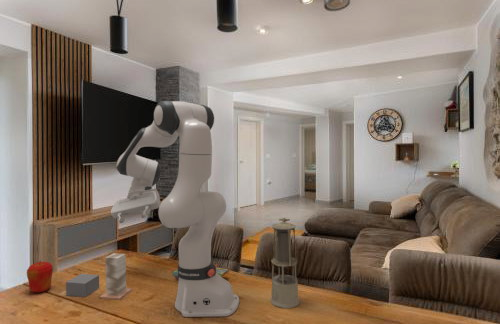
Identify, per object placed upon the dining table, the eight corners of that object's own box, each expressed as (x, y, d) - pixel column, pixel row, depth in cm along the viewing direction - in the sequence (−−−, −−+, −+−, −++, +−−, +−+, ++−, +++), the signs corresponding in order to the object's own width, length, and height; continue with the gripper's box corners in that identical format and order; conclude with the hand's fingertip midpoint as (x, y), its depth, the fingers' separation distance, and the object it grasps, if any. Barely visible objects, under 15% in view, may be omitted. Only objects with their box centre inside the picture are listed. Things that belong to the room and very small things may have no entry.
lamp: (269, 307, 108) (268, 220, 107) (272, 290, 121) (272, 213, 120) (299, 309, 106) (299, 221, 105) (299, 292, 119) (299, 213, 118)
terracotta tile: (131, 290, 122) (131, 288, 122) (119, 299, 114) (119, 298, 114) (113, 288, 123) (113, 287, 123) (99, 298, 116) (99, 296, 116)
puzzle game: (189, 260, 142) (228, 267, 133) (189, 271, 142) (228, 278, 133) (172, 269, 131) (214, 277, 123) (172, 281, 131) (214, 289, 123)
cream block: (126, 290, 121) (125, 253, 120) (118, 295, 116) (117, 258, 115) (114, 289, 122) (113, 253, 121) (106, 294, 117) (105, 257, 116)
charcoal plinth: (99, 287, 125) (99, 275, 124) (85, 296, 117) (85, 283, 116) (81, 286, 126) (80, 273, 126) (66, 295, 118) (65, 282, 118)
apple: (23, 291, 122) (22, 261, 121) (48, 284, 128) (47, 255, 128) (32, 297, 116) (31, 266, 116) (57, 289, 123) (56, 259, 123)
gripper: (112, 196, 136) (103, 219, 125) (157, 185, 135) (153, 207, 124) (119, 206, 140) (111, 230, 128) (163, 195, 139) (159, 218, 127)
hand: (132, 219), depth 126 cm, fingers open, 8 cm apart
